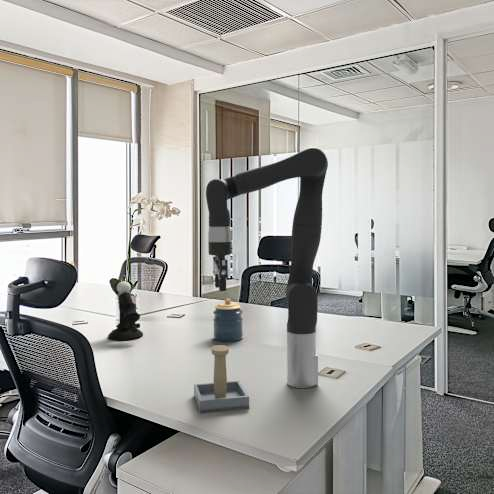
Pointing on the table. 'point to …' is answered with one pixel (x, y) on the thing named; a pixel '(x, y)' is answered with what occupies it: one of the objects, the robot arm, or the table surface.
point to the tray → (233, 400)
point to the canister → (228, 322)
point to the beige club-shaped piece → (220, 370)
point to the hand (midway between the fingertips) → (220, 289)
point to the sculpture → (126, 316)
